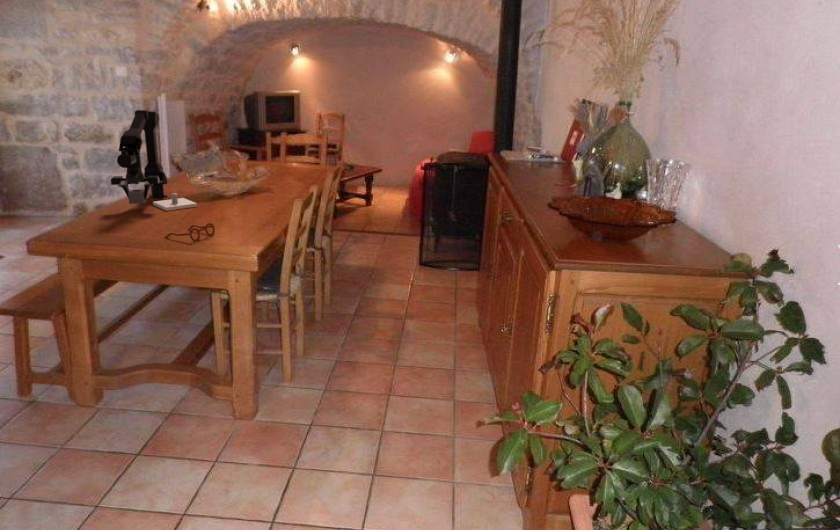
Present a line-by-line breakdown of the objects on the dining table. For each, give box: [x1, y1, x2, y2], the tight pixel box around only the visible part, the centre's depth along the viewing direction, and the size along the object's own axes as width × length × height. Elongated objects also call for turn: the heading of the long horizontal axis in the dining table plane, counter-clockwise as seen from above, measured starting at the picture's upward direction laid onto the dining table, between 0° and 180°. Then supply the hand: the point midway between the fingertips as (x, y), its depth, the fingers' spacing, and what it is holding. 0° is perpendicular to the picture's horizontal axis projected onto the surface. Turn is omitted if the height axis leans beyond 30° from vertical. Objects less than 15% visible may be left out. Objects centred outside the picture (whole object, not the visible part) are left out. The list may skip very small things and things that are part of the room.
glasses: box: [164, 222, 215, 242], centre depth 240 cm, size 13×13×5 cm
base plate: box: [152, 192, 198, 212], centre depth 284 cm, size 14×14×6 cm
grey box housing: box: [127, 188, 147, 205], centre depth 275 cm, size 6×6×5 cm
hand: (137, 199), depth 276 cm, fingers closed on grey box housing, 6 cm apart
